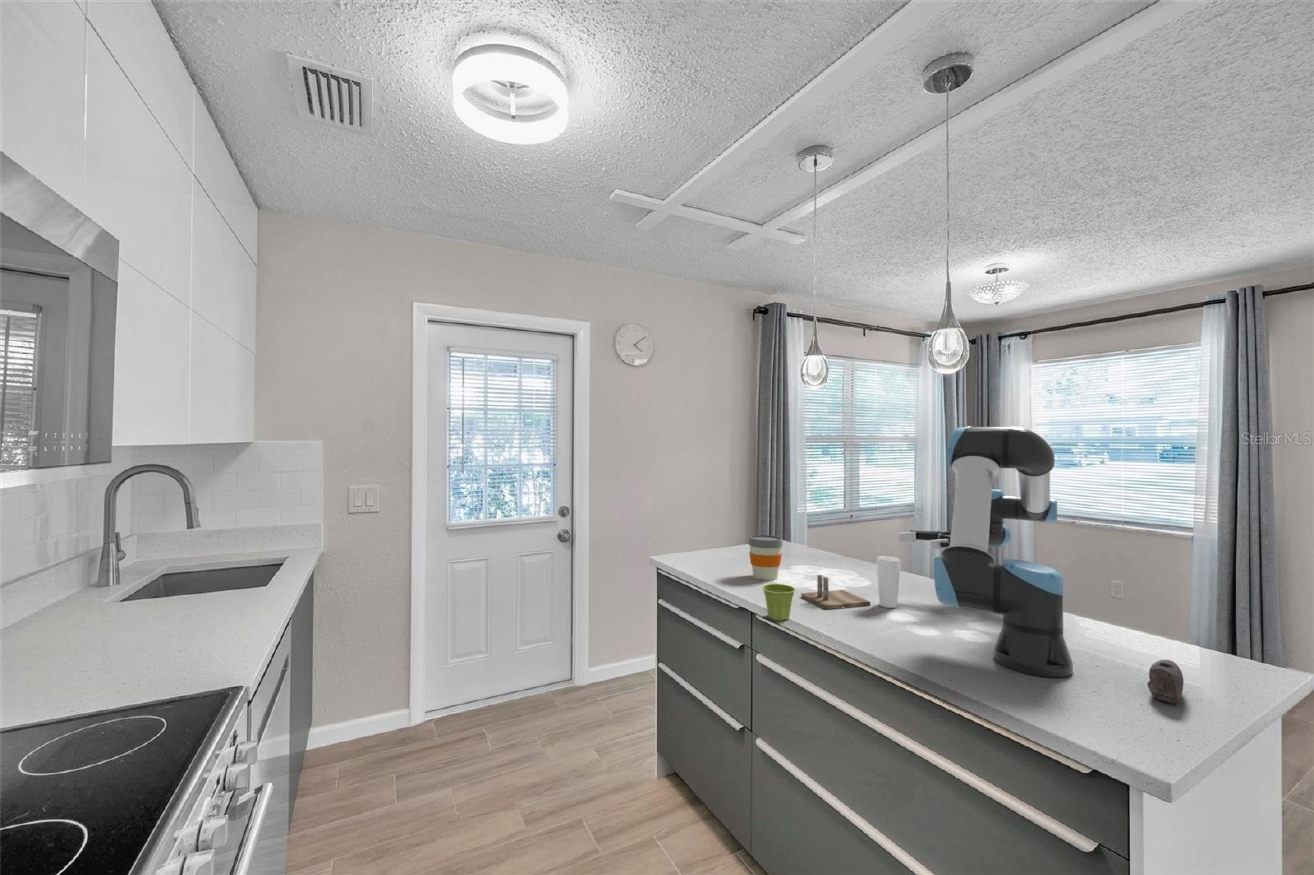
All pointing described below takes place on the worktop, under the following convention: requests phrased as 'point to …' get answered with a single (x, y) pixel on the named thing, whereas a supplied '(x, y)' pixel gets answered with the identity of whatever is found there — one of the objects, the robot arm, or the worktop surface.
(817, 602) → the board
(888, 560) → the white tall cylinder
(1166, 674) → the perforated stone tool
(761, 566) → the reusable coffee cup
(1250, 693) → the worktop surface
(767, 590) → the plant pot
